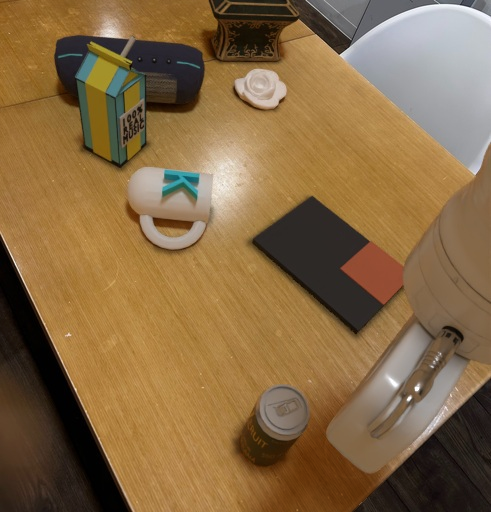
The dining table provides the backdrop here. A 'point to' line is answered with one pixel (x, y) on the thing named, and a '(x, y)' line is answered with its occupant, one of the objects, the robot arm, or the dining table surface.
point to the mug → (171, 202)
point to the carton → (111, 104)
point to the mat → (332, 262)
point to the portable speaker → (139, 65)
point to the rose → (261, 88)
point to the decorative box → (250, 28)
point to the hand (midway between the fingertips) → (392, 376)
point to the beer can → (274, 424)
